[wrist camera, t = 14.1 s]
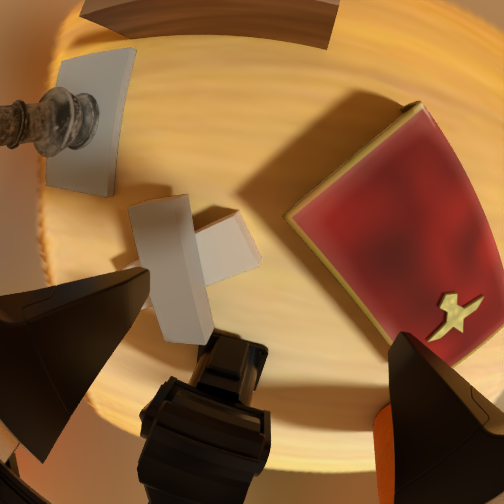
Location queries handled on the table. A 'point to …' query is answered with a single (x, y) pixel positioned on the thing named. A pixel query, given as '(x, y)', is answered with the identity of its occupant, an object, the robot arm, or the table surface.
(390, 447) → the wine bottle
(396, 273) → the hardcover book
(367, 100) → the table surface
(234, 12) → the long thin taupe batten
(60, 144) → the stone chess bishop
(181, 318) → the top offcut
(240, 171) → the table surface
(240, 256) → the bottom offcut
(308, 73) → the table surface
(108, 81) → the slate mat
